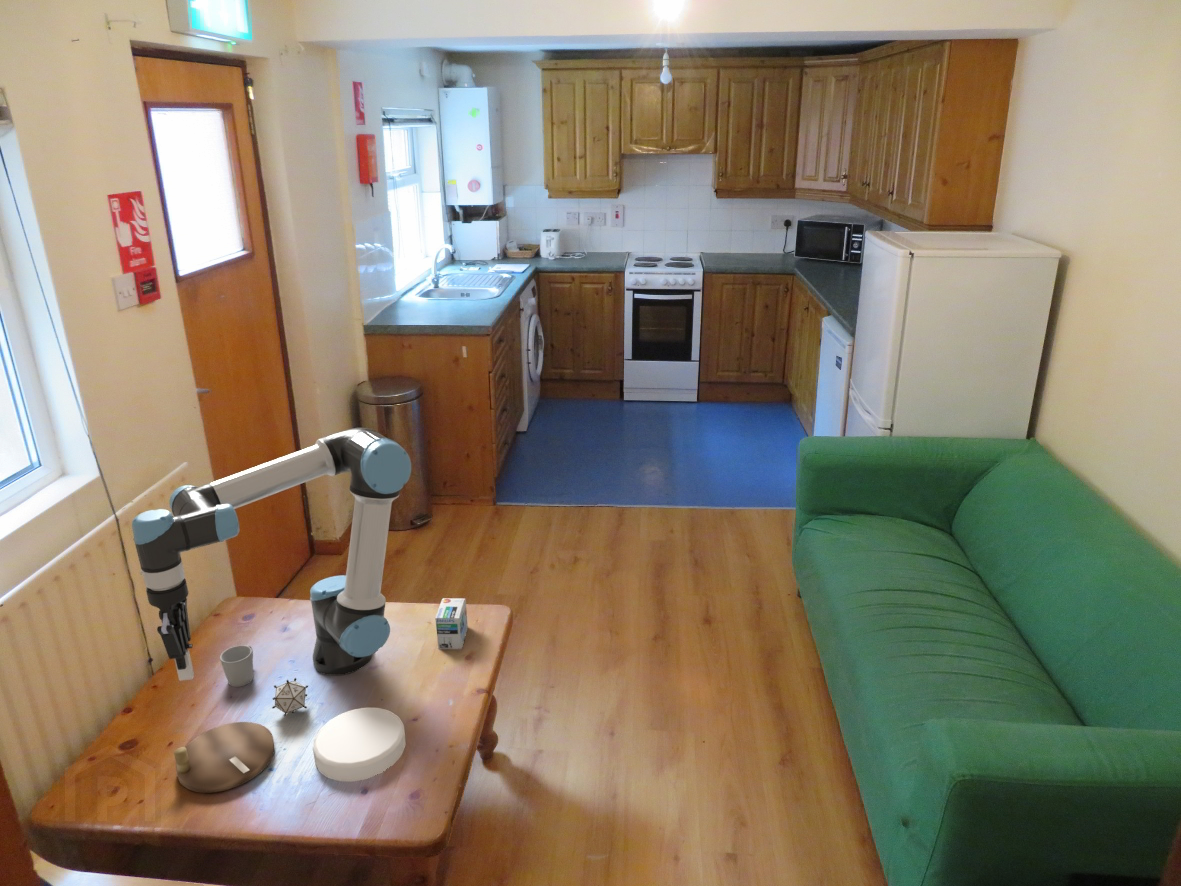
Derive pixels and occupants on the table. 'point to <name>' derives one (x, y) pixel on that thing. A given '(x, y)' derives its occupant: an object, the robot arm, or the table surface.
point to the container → (359, 744)
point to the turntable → (224, 757)
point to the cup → (238, 665)
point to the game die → (290, 697)
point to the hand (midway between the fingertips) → (186, 677)
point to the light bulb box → (451, 623)
